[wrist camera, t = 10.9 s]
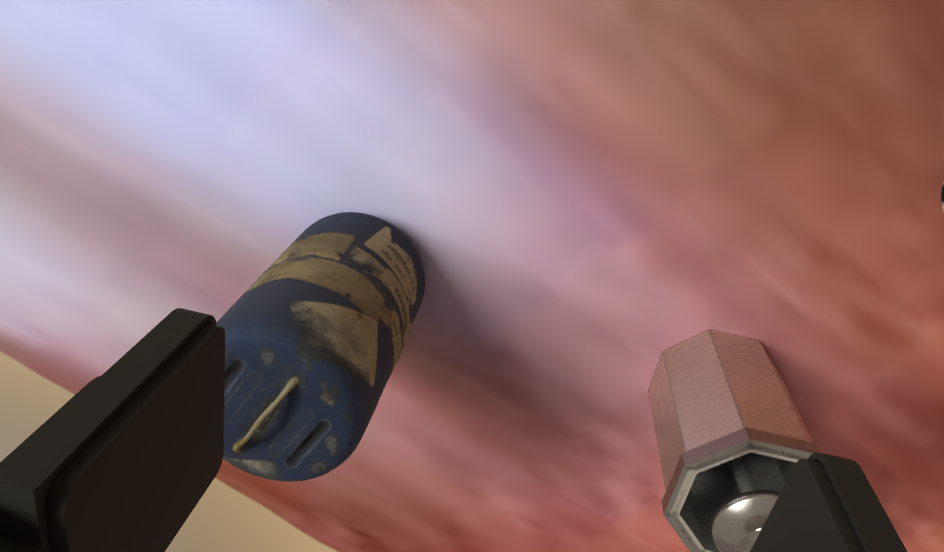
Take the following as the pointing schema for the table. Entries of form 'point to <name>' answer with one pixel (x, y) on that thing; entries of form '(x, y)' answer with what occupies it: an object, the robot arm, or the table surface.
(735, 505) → the plunger
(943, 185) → the spotted tube
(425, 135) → the table surface
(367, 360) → the canister
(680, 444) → the press carafe
